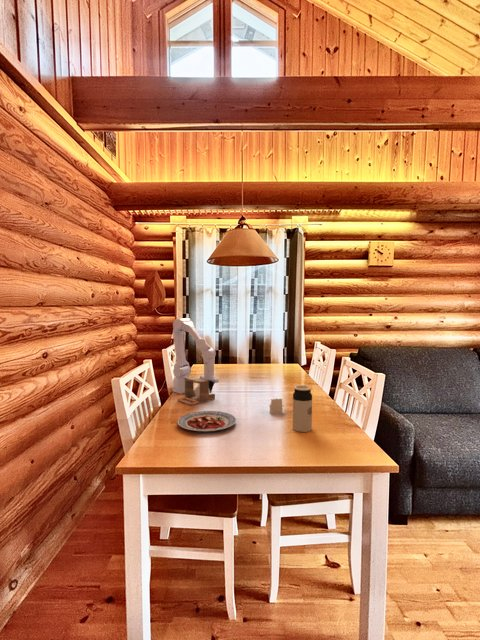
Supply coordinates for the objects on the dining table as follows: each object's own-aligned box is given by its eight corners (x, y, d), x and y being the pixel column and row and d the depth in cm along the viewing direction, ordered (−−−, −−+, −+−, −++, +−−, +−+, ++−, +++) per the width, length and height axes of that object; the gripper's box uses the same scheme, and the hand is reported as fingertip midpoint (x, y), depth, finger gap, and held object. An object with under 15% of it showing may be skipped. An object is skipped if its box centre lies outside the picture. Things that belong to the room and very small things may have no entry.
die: (212, 397, 201) (205, 382, 204) (212, 394, 193) (205, 378, 197) (199, 404, 199) (192, 388, 202) (198, 400, 191) (191, 384, 195)
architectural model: (268, 412, 174) (268, 397, 174) (282, 411, 176) (282, 396, 175) (270, 414, 171) (270, 399, 171) (284, 413, 172) (284, 398, 172)
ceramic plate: (189, 440, 139) (189, 432, 139) (170, 420, 162) (170, 414, 162) (246, 429, 151) (246, 422, 151) (221, 412, 174) (221, 406, 174)
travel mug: (288, 428, 151) (289, 386, 150) (301, 424, 156) (302, 384, 155) (302, 434, 145) (303, 390, 144) (315, 429, 150) (316, 387, 149)
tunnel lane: (184, 397, 200) (184, 377, 199) (198, 394, 206) (198, 375, 206) (201, 402, 189) (201, 382, 188) (215, 399, 195) (214, 379, 195)
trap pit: (178, 401, 192) (178, 398, 192) (185, 399, 196) (185, 397, 196) (191, 405, 184) (191, 403, 184) (199, 403, 187) (199, 401, 187)
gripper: (222, 370, 199) (222, 394, 200) (206, 367, 209) (206, 389, 210) (213, 372, 194) (213, 396, 195) (196, 368, 204) (197, 391, 205)
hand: (209, 393), depth 202 cm, fingers closed
